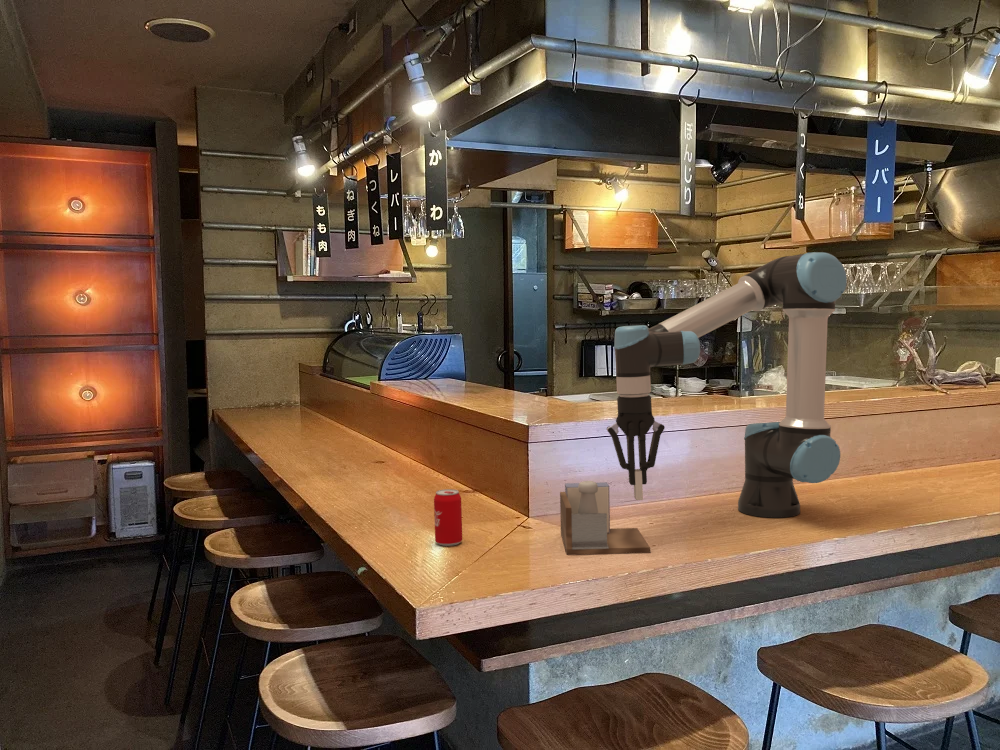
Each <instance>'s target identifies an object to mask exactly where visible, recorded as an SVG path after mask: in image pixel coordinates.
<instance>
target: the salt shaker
mask: <svg viewBox="0 0 1000 750" xmlns="http://www.w3.org/2000/svg"><path fill="white" fill-rule="evenodd" d="M578 483H579V486H578V489H579V492H581V497H580V503H579V509H578V513H598V508H597V502H596V496H595V493H596V492H597V491H598V486H597V483H598V482H595V481H594V480H583V481H581V482H578Z"/></svg>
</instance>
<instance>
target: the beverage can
mask: <svg viewBox="0 0 1000 750" xmlns="http://www.w3.org/2000/svg"><path fill="white" fill-rule="evenodd" d="M433 511H434V512H433V513H434V541H435V543H436V544H438V545H440V546H443V547H454V546H457V545H459V544H460V543H462V541H463V521H462V520H463V518H462V517H463V513H462V512H463V511H462V496H461V494H460V492H459V490H457V489H452V488H450V489H449V488H447V489H440V490H437V491H435V495H434V497H433Z"/></svg>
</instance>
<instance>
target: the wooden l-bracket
mask: <svg viewBox="0 0 1000 750" xmlns="http://www.w3.org/2000/svg"><path fill="white" fill-rule="evenodd" d="M559 503H560V504H559V506H560V508H559V512H560V513H559V514H560V537H561V540H562V543H563V547H564V550H565V554H566V556H567V555H568V556H570V555H573V556H575V555H578V556H579V555H612V554H613V555H614V554H615V555H616V554H618V555H619V554H620V555H621V554H651V546H650V545H649V543H648V541H647V540H646V538H645V537H644V536H643V534H642V533H641V531H640V529H639V528H638V527H624V528H623V527H621V528H610V533H607V545H608V547H609V549H572V511H571V505H570V503H569V500H568V498H567V495H566V493H565V491H560V492H559Z"/></svg>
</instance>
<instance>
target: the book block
mask: <svg viewBox="0 0 1000 750" xmlns="http://www.w3.org/2000/svg"><path fill="white" fill-rule="evenodd" d="M579 483H580V482H572V483H571V482H568V483H564V492H565V493H566V495H567V498H568V500H569V503H570V505H571V511H572V514H577V513H578V509H579V503H580V497H581V492H579V489H578V486H579ZM596 483H597V486H598V491H597V492H596V493H595V496H596V502H597V508H598V513H606V514H607V533H610V529H611V524H610V522H611V515H610V511H611V509H610V506H611V505H610V503H611V501H610V484H609V483H608V481H607V482H605V481H603V482H596Z"/></svg>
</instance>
